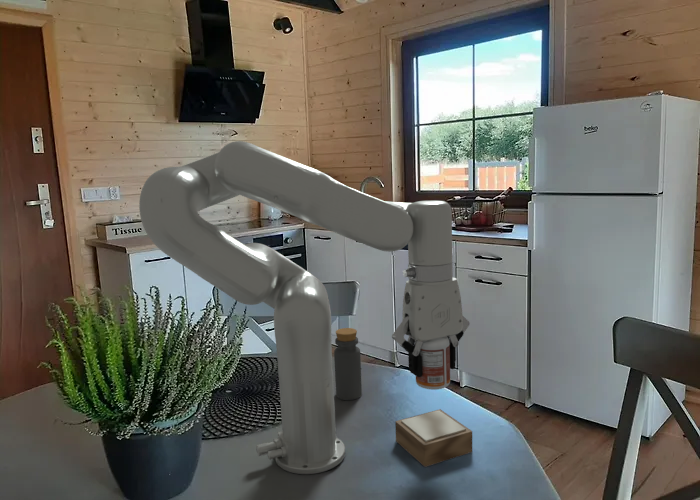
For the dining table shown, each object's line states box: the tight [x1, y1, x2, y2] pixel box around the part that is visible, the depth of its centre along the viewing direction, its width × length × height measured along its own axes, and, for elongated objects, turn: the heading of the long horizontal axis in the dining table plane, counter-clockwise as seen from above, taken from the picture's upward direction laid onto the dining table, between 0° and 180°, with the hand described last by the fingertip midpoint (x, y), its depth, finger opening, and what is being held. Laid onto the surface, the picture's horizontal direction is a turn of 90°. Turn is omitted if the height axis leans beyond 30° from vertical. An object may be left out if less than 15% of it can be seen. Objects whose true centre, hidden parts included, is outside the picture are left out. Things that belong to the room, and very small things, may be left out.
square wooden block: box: [394, 408, 473, 468], centre depth 101 cm, size 10×10×4 cm
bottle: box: [333, 327, 363, 401], centre depth 123 cm, size 6×6×15 cm
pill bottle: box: [415, 337, 451, 391], centre depth 98 cm, size 6×6×11 cm
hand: (432, 369), depth 99 cm, fingers closed on pill bottle, 6 cm apart
